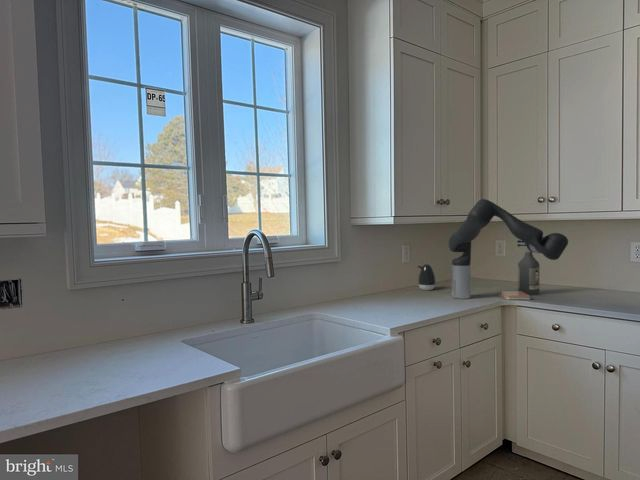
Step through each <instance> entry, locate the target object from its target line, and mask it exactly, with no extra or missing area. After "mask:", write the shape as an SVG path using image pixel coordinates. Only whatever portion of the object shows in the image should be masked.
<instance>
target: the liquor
mask: <svg viewBox="0 0 640 480" xmlns="http://www.w3.org/2000/svg"><path fill="white" fill-rule="evenodd" d="M524 250H525V251H524V256H523V257H522V258H521V259H519V262H518V263H517V282H518V283H517V291H522V292H524V293H526V294H528V295H530V296H531V295H532V296H536V295H539V294H540V262H539V261H538V260H537V259H536V258H535V257H534V255H533V252H531V251H530V250H528V248H527V247H526V246H524Z"/></svg>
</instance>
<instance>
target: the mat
mask: <svg viewBox="0 0 640 480" xmlns="http://www.w3.org/2000/svg"><path fill="white" fill-rule="evenodd" d="M497 296H498V297H499V298H501V299H502V300H509V301H510V300H515V301H516V300H517V301H519V300H522V301H523V300H525V301H526V300H530V299H531V300H533V299H534V298H532V297H530V299H508V298H506V297H504V296H503V295H501V294H497Z"/></svg>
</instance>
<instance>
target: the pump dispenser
mask: <svg viewBox="0 0 640 480" xmlns="http://www.w3.org/2000/svg"><path fill="white" fill-rule="evenodd" d="M417 268H419V269H420V271H419V275H418V278H417V279H418V281H417V284H418V286H419V288H420V289H421V290H422V291H433V289H435V286H436V283H437V282H436V274H435V272H434V269H433V267H432V266H431V265H430V264H428V263H425V264H423V265H422V266H421V265H417Z"/></svg>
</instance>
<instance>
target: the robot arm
mask: <svg viewBox="0 0 640 480" xmlns="http://www.w3.org/2000/svg"><path fill="white" fill-rule="evenodd" d="M494 217H497V218H499V219H500V220H501V221H503V223H505V225H506V227H507V228H508V230H509V231H510V233H511V234H512V235H513V236H514V237H515V238H516V239H517V244H516V246H517V247H525V246H526V247H527V248H528V250H530V251H531V252H532V253H535V254H542V255H543V256H544V257H545V258H546V259H548V260H551V261H556V260H558V259H559V258H560V257H561V255H562V254H563V253H564V251H565V250H566V248H567V246H568V244H569V239H568V238H567V236H566V235H564V234H562V233H559V232H553V233H550V234H547V235H546V236H544V231H543V230H541V229H540V228H538V227H535V226H533V225H531V224H529V223H527V222H524V221H522V220H521V219H520V218H517V217H516V216H515V215H513V214H512V213H510V212H508V211H507V210H506V209H504V208H502V207H501V206H499V205H498V204H497V203H495V202H493V201H490V200H488V199H486V198H485V199H484V198H481V199H479V200H478V201H477V202H476V203H475V205H473V207H472V208H471V209H470V211H469V212H468V215H467V217H466V219H465V220H463V222H462V223H461V224H460V225H459V227H458V229H457V230H456V231H455V232H454V233H452V235H451V236H450V237H449V239H448V248H449V250H450V251H451V252H453V253H462V254H461V255H460V256H458V257H455V258H453V259H452V260H451V264H452V265H451V273H452V274H451V275H452V276H451V281H450V282H451V297H452V298H453V299H459V300H460V299H464V300H467V299H471V298H472V296H471V295H472V293H471V292H472V291H471V290H472V289H471V286H472V285H471V281H472V280H471V271H472V270H471V259H472V258H471V257H472V241H473V240H475V239H476V238H477V237H479V234H480V233H481V231H482V229H484V228H485V227H486V226H488V224H489V223H490V222H491V221H492V220H493V218H494Z"/></svg>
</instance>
